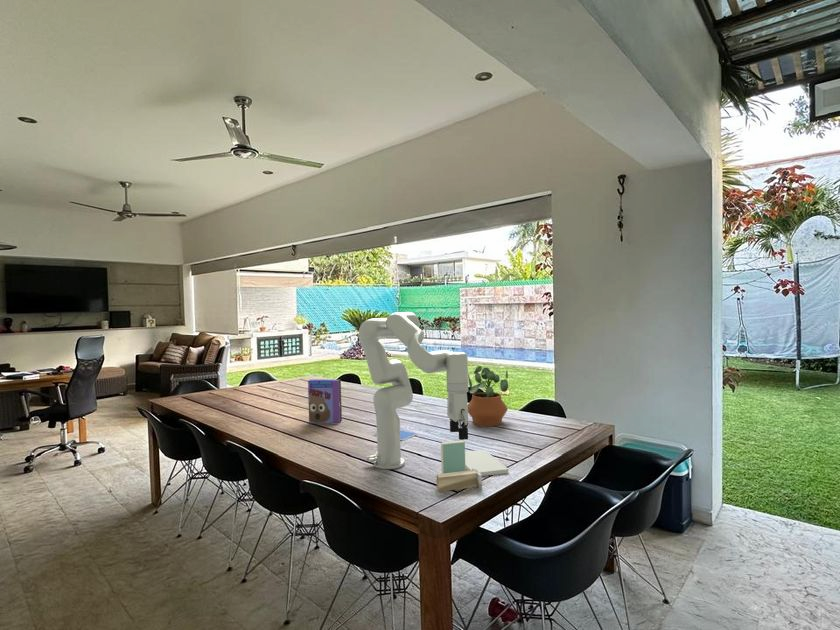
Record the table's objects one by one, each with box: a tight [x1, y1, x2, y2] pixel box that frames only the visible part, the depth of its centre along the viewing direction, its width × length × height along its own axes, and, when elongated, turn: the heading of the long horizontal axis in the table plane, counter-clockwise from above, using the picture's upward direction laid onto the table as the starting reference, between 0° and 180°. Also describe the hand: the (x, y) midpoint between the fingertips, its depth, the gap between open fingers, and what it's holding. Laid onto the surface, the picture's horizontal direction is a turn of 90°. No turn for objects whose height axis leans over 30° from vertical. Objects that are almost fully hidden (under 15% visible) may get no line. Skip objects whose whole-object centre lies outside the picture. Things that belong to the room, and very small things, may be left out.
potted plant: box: [468, 365, 509, 427], centre depth 240 cm, size 23×28×30 cm
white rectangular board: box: [465, 448, 509, 477], centre depth 180 cm, size 14×24×2 cm, turn 14°
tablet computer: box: [373, 429, 418, 442], centre depth 223 cm, size 19×13×1 cm, turn 54°
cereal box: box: [307, 379, 343, 424], centre depth 250 cm, size 17×5×24 cm, turn 83°
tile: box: [440, 440, 467, 474], centre depth 171 cm, size 9×2×12 cm, turn 104°
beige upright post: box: [436, 468, 483, 493], centre depth 158 cm, size 7×15×5 cm, turn 104°
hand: (458, 435), depth 157 cm, fingers open, 9 cm apart
